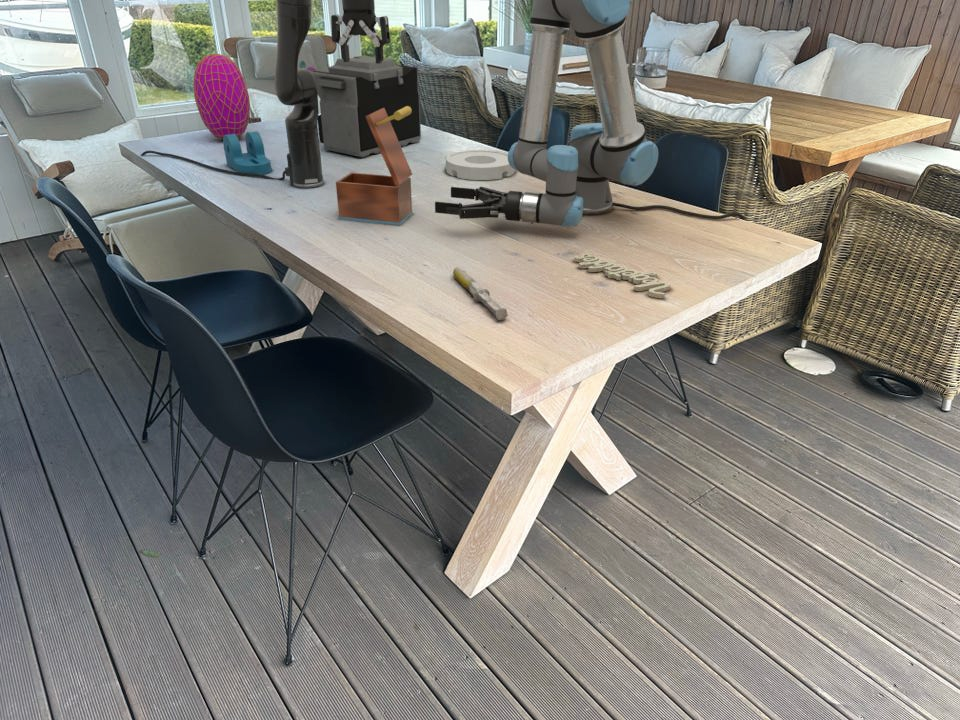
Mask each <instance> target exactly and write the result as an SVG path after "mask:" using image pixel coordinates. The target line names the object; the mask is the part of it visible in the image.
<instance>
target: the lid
mask: <svg viewBox="0 0 960 720" xmlns="http://www.w3.org/2000/svg"><path fill="white" fill-rule="evenodd" d="M411 112H412V109H411V108H410V107H409V106H406V107H404V108H402V109H400V110H398V111H396V112H395V113H394V115H392V116H389V117H388V115H387V113H386V110H385V108H382V109H380V110H378V111H376V112H374V113H371V114H369V115H367V116H365V117H366V119H367V122H368V124H369V126H370V128H371V131H372V133H373V135H374V138H375V140H376V142H377V145H378V147H379V149H380V151H381V153H380V154H381V157H382V158H383V161H384V162H385V166H386V167H387V171H388V172H389V175H390V176H391V177H392V179H393V181H394V183H395V186H396V185H399V184H401V183H402V182H403V181H405V180H406V179H407V178H411V176H413V172H412V170H411V167H410V164H409V163H408V160H407V158H406V156H405V153H404V151H403V149H402V147H401V146H400V143H399V141H398V139H397V136H396V134H395V132H394V129H393V127H392V125H391V122H390V120H393V119H395V120H401V119H402V118H404V117H406V116H408V115H410V114H411Z"/></svg>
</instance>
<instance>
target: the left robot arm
mask: <svg viewBox="0 0 960 720" xmlns="http://www.w3.org/2000/svg"><path fill="white" fill-rule="evenodd" d="M312 1H313V0H276V25H277V29H276V56H275V57H276V58H275V69H274V91H275V94H276V97H277V99H278V101H279V102H280V103H281V104H282V105H284V106H294V107H293V109H292V111H291V112H290V113H289V114H288V115H287V116H286V117H285V120H284V123H285V131H286V138H287V146H288V153H287V154H286V161H287V166H286V167H284V171H283V172H282V174H281V176H282V177H280V178H276V177H273V176H268V175H265V174H250V173H242V172H237V171H235V170H228V169H223V168H219V167H215V166H212V165H208V164H205V163H202V162H199V161H197V160H194V159H190V158H188V157H184V156H181V155H176V154H172V153H164V152H159V151H155V150H145V151H143V152H142V153H141V154H140V156H141V157H144V156H145V155H146V154H154V155H159V156H164V157H172V158H175V159H179V160H183V161H187V162H190V163H192V164H196V165H198V166H201V167H204V168H207V169H211V170H214V171H217V172H222V173H226V174H231V175H240V176H246V177H255V178H256V177H257V178H264V179H267V180H274V181H275V180H276V181H283V180H285V179H286V177H289V184H290V186H294V187H296V188H300V189H301V188H303V189H310V188H317V187H320V186H322V185H324V184H325V182H324V175H323V167H322V157H321V147H320V139H319V130H318V116H319V115H320V114H319V112H320V111H319V110H320V109H319V96H318V92H317V85H316V81H315V79H314V77H313V75H312V73H311V72H310V71H308V70H306V69H300V68H299V56H300V52H301V50H302V48H303V45H304V43H305V40H306V39H307V36H308V34H309V31H310V28H311V24H312V15H313V14H312V12H313V10H312V9H313V8H312V7H313V5H312V4H313V2H312ZM341 3H342V10H343V14H342V15H339V14H338V13H337V14H332V15H331V16H330V24H331V27H330V28H331V41H332V43H336V44H337V45H339V47H340V59H341V58H342V59H343V61H344V62H349V61H350V58H351V57H350V46H349V44H348V43H349V41H350V40H351V38H352V37H353V36H354V37H355V36H362V37H366V36H367V37H368V38H369V40H371V41H372V43H373V44H374V57H375V58H376V64H380V63H382V61H383V59H384V58H385V57H384V46H385V45H387V44H390V43H391V34H390V33H391V32H390V24H389V23H390V22H389V17H388V16H387V15H382V16H376V15H377V14H376V11H375V10H376V7H375V6H376V5H375V0H341ZM342 23H343V24H344V25H345V29H344V31H343V32H342V34H341V25H342ZM376 25H378V27H380V34H379V32H378V30H377V29H376V28H375V26H376ZM380 35H381V36H380ZM297 68H299V69H297Z"/></svg>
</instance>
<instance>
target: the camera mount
mask: <svg viewBox="0 0 960 720" xmlns="http://www.w3.org/2000/svg"><path fill="white" fill-rule="evenodd" d="M222 140H223V141H222V143H223V149H224V150H223V151H224V156H225V161H226V165H227V166H228V167H230V168H231V169H232V170H233V171H235V172H242V173H250V174H261V175H265V174H268V173H271V172H272V164H271V159H270V158H268V157H267V156H266V153H265V145H264V141H263V139H262V136H261V134H260V132H258V131H247V132H246V133H245V146H246V152H243V151H242V150H243V149H242V146H241V142H240V140H239V138H237V136H236V135H235V134H230V135H224V137H223V139H222Z"/></svg>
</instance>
